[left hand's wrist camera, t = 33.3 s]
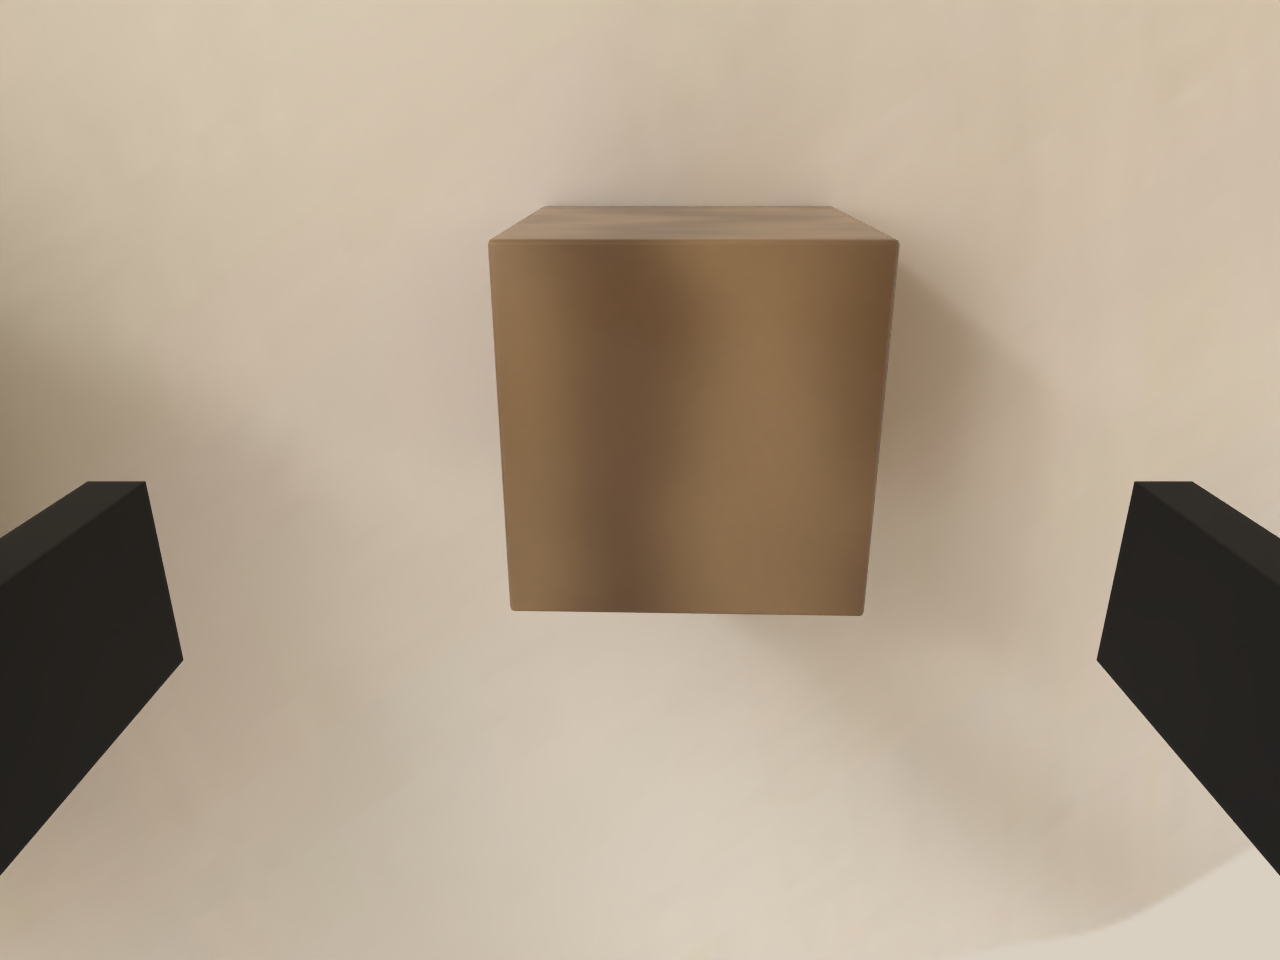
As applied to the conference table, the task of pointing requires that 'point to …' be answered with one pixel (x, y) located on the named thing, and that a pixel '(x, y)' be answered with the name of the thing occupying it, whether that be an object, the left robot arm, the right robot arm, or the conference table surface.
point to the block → (690, 406)
